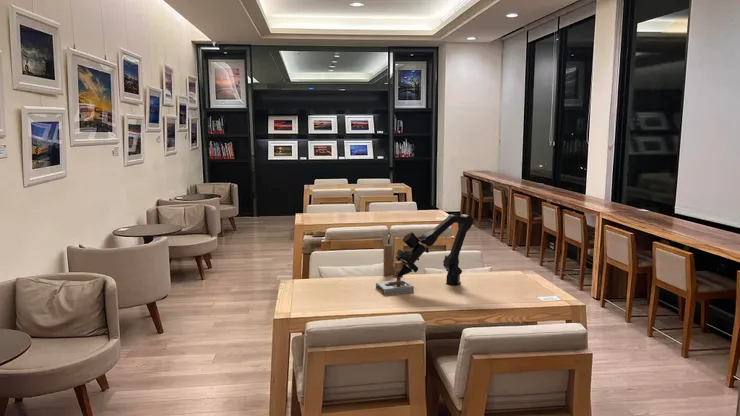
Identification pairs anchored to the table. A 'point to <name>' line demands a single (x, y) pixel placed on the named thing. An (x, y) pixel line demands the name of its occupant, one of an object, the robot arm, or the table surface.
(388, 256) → the wooden block
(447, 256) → the robot arm
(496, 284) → the table surface
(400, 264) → the headed peg
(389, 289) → the keyhole plate
